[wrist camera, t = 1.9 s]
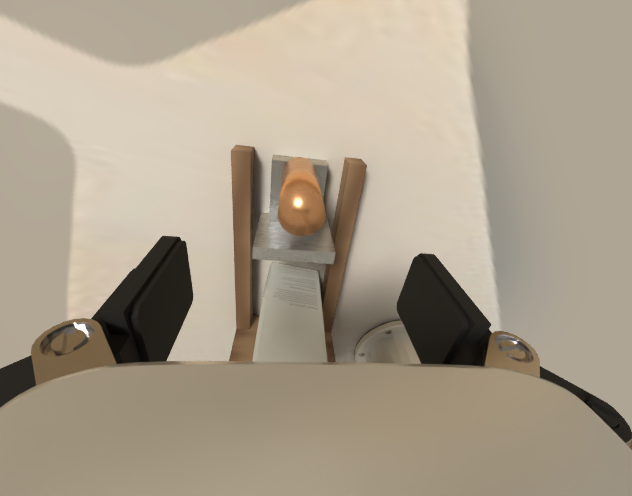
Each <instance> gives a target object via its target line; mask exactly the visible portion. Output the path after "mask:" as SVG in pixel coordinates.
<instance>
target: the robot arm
mask: <svg viewBox="0 0 632 496" xmlns="http://www.w3.org/2000/svg"><path fill="white" fill-rule="evenodd" d="M192 301H193V290H192V282H191V275H190V268H189V261H188V254H187V246H186V242H185V241H181V239H180V237H173V236H162V237H161V238H160V239H159V241H158V242H157V243H156V244H155V246H154V247H153V248H152V249H151V250H150V252H149V253H148V254H147V255H146V256H145V258H144V259H143V260H142V261H141V263H140V264H139V265H138V266H137V267H136V268H135V269H133V270H132V271H131V272H130V273H129V274H128V275H127V277H126V278H125V279H124V280H123V281H122V283H121V284H120V285H119V286H118V287H117V289H116V290H115V291H114V292H113V293H112V295H111V296H110V297H109V298H108V299H107V301H106V302H105V303H104V304H103V305H102V306H101V308H100V309H99V310H98V311H97V312H96V314H95V315H94V316H93V317H92V318H91V319H86V318H81V319H73V320H69V321H66V322H63V323H60V324H58V325H56V326H53V327H52V328H50V329H49V330H47V331H45V332H44V333H43V334H41V335H40V336H39V337H38V338H37V339H36V340H35V342H34V344H33V345H32V349H31V356H29V357H26V358H24V359H22V360H20V361H17V362H15V363H13V364H10V365H8V366H6V367H3V368H1V369H0V496H632V432H631V429H630V427H629V425H628V424H627V423H626V421H625V420H624V418H623V417H622V416H621V415H620V414H619V413H618V412H617V411H616V410H615V409H614V408H613V407H612V406H610V405H609V404H608V403H606V402H604V401H602V400H600V399H599V398H597V397H596V396H593V395H592V394H590V393H588V392H586V391H584V390H583V389H581V388H579V387H577V386H575V385H574V384H572V383H570V382H568V381H566V380H564V379H563V378H561V377H559V376H557V375H555V374H553V373H551V372H550V371H548V370H546V369H544V368H542V367H541V366H540V361H539V357H538V355H537V353H536V351H535V350H534V349H533V348H532V347H531V346H530V345H529V344H528V343H527V342H525V341H524V340H523V339H521V338H519V337H517V336H516V335H513V334H510V333H508V332H503V331H495V332H493V333H491V331H490V330H489V328H490V326H491V323H490V322H489V321H488V320H487V319H486V317H485V316H484V315H483V314H482V312H481V311H480V310H479V309H478V307H477V306H476V305H475V304H474V303H473V301H472V300H471V299H470V298H469V296H468V295H467V294H466V293H465V291H464V290H463V289H462V288H461V287H460V285H459V284H458V283H457V282H456V280H455V279H454V278H453V277H452V275H451V274H450V273H449V272H448V271H447V269H446V268H445V267H444V266H443V264H442V263H441V262H440V261H439V259H438V258H437V257H436V256H435V255H434V254H422V253H421V254H419V255H418V256H416V257H414V259H413V261H412V264H411V267H410V269H409V272H408V275H407V278H406V280H405V283H404V286H403V288H402V291H401V294H400V296H399V299H398V302H397V311H398V314H399V316H400V318H401V321H394V322H389V323H386V324H383V325H380V326H378V327H376V328H375V329H373V330H371V331H370V332H368V333H367V334H366V335H365V336H364V337H363V338H362V339H361V340H360V341H359V343H358V344H357V346H356V349H355V361H356V363H345V362H257V361H166V360H167V358H168V356H169V354H170V351H171V349H172V347H173V345H174V342H175V340H176V338H177V336H178V333H179V331H180V329H181V327H182V324H183V322H184V320H185V318H186V315H187V313H188V311H189V309H190V306H191V304H192Z"/></svg>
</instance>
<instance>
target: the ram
mask: <svg viewBox="0 0 632 496" xmlns="http://www.w3.org/2000/svg"><path fill="white" fill-rule="evenodd" d="M327 170H328V164H327V162H326V161H325V160H316V159H307V158H302V157H289V156H280V155H273V158H272V171H271V195H270V213H261V215H260V219H259V223H258V227H257V231H256V235H255V239H254V243H253V254H252V259H260V260H275V261H291V262H306V263H322V264H334V259H335V254H336V252H335V248H334V244H333V240H332V236H331V232H330V228H329V224H328V220H327V218H326V211H325V206H324V202H323V198H324V191H325V184H326V177H327Z"/></svg>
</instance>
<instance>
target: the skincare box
mask: <svg viewBox="0 0 632 496" xmlns="http://www.w3.org/2000/svg"><path fill="white" fill-rule="evenodd" d="M252 361H257V362H328V361H327V352H326V344H325V332H324V321H323V311H322V301H321V292H320V281H319V273H318V271H317V270H312V269H307V268H301V267H296V266H291V265H285V264H280V263H274V262H272V263H271V266H270V269H269V273H268V277H267V281H266V285H265V289H264V294H263V299H262V305H261V311H260V317H259V322H258V329H257V335H256V341H255V347H254V353H253V360H252Z"/></svg>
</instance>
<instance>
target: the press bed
mask: <svg viewBox="0 0 632 496" xmlns="http://www.w3.org/2000/svg"><path fill="white" fill-rule="evenodd" d="M231 167H232V198H233V230H234V262H235V294H236V326H237V329H236V333H235V338H234V342H233V346H232V351H231V355H230V359H229V361H252V360H253V353H254V347H255V341H256V335H257V329H258V322H259V317H260V315H252V300H253V259H252V254H253V194H254V147H250V146H241V145H236V146H235V147H234V148H233V149H232V150H231ZM366 168H367V165H366V164H365V163H364V162H363V161H362V160H361V159H355V158H346V157H345V161H344V167H343V172H342V178H341V184H340V190H339V195H338V201H337V207H336V213H335V218H334V224H333V230H332V240H333V244H334V248H335V252H336V254H335V259H334V264H326V270H325V276H324V282H323V287H322V293H321V301H322V311H323V321H324V332H325V344H326V352H327V361H328V362H335V356H334V349H333V342H332V336H331V329H332V325H333V320H334V315H335V311H336V306H337V302H338V297H339V292H340V288H341V283H342V279H343V274H344V269H345V265H346V260H347V255H348V251H349V246H350V242H351V237H352V232H353V228H354V223H355V219H356V214H357V209H358V205H359V200H360V195H361V191H362V186H363V182H364V177H365V172H366Z"/></svg>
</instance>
